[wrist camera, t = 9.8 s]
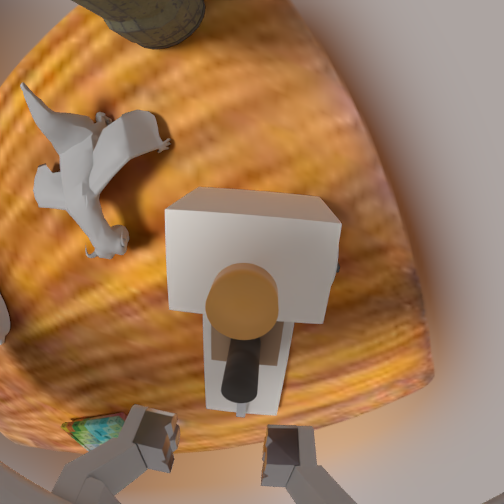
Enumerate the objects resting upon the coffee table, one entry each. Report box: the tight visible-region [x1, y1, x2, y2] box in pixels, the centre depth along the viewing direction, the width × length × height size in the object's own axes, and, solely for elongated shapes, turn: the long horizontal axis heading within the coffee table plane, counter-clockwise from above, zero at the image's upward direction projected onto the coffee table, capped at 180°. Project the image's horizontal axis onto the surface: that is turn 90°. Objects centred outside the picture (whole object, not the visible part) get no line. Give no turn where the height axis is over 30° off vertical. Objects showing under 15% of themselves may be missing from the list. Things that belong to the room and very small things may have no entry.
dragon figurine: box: [20, 82, 171, 259], centre depth 25 cm, size 15×15×9 cm
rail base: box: [165, 187, 342, 417], centre depth 30 cm, size 13×30×10 cm, turn 176°
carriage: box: [211, 321, 284, 403], centre depth 27 cm, size 7×6×10 cm
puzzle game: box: [61, 412, 127, 451], centre depth 45 cm, size 12×5×20 cm
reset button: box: [205, 263, 279, 340], centre depth 17 cm, size 4×4×2 cm
